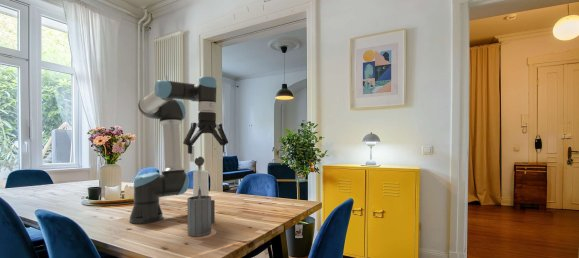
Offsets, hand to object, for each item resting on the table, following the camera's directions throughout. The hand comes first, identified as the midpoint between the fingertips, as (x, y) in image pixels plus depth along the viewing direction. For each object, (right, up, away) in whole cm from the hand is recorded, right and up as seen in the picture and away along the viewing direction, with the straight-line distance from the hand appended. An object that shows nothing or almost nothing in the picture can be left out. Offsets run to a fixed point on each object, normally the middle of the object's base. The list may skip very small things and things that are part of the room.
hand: (206, 160), depth 124 cm
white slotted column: (-7, -32, +14) cm, 36 cm away
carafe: (-2, -30, -4) cm, 31 cm away
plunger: (-2, -17, -4) cm, 18 cm away
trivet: (-2, -31, -4) cm, 31 cm away
